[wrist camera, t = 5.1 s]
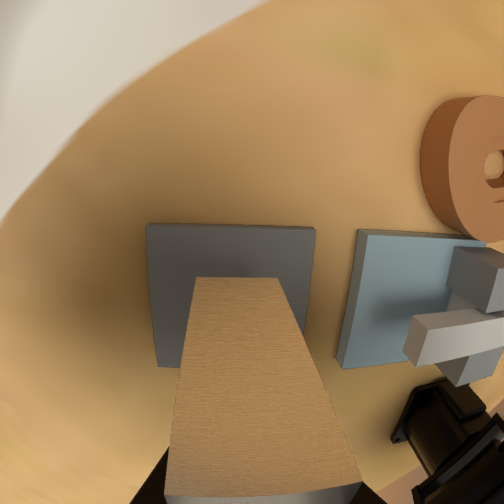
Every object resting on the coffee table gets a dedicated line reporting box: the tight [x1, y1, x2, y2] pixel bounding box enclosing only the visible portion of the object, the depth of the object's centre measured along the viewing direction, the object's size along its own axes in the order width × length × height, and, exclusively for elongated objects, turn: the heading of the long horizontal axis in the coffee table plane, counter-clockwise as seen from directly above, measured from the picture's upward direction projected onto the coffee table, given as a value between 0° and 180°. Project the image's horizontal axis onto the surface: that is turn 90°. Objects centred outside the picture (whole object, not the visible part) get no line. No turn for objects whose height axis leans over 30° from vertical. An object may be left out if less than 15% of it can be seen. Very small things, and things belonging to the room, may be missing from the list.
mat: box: [146, 224, 316, 368], centre depth 16 cm, size 8×8×1 cm
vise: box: [336, 229, 504, 387], centre depth 15 cm, size 8×10×5 cm
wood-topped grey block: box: [164, 277, 363, 504], centre depth 8 cm, size 6×3×9 cm, turn 177°
